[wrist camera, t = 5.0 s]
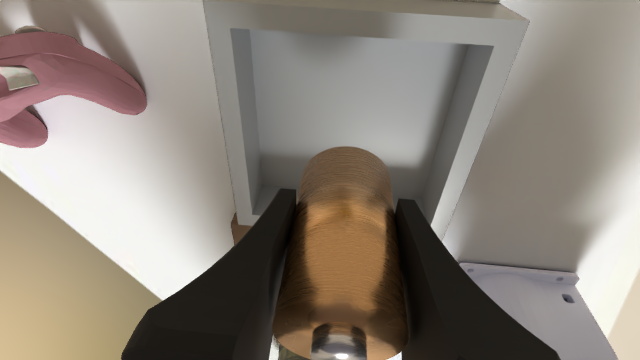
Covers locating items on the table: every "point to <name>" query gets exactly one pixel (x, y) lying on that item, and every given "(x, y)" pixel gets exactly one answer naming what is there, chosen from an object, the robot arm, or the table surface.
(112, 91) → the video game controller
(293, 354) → the thermos
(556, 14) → the table surface
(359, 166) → the cell
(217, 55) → the tray
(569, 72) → the table surface
